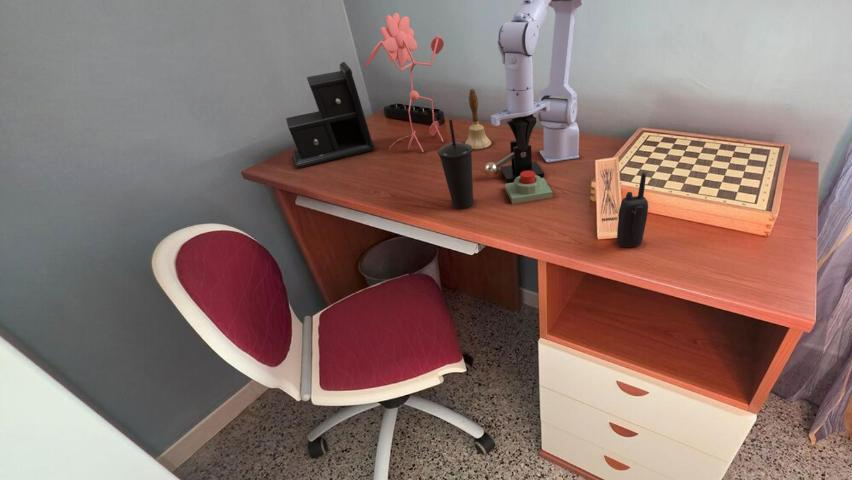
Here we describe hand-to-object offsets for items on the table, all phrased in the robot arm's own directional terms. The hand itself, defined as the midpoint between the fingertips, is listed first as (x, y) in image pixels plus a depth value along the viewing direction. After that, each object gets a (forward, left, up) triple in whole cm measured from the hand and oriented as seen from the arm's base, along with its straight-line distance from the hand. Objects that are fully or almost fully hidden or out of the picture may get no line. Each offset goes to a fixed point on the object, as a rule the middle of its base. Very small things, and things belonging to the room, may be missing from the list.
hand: (522, 148), depth 100 cm
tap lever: (+2, -8, -7) cm, 12 cm away
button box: (0, +3, -10) cm, 11 cm away
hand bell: (+7, -33, -10) cm, 36 cm away
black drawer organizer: (+51, -42, -10) cm, 67 cm away
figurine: (+25, -41, -10) cm, 49 cm away
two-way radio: (-14, +31, -10) cm, 35 cm away
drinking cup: (+16, +3, -10) cm, 19 cm away
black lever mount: (-1, -8, -10) cm, 13 cm away
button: (0, +3, -7) cm, 8 cm away
